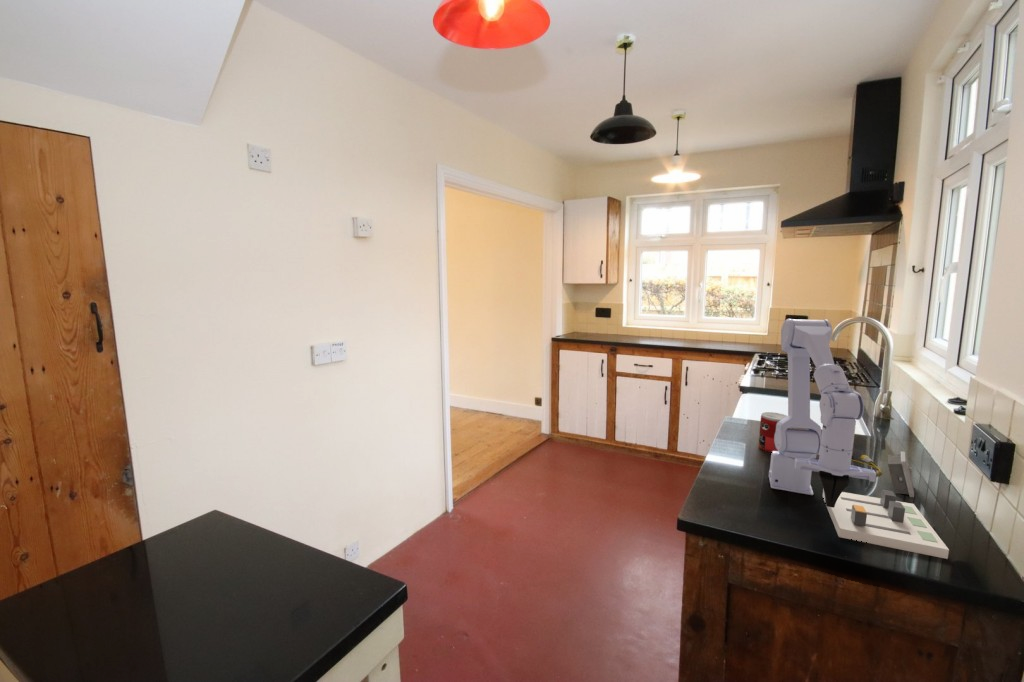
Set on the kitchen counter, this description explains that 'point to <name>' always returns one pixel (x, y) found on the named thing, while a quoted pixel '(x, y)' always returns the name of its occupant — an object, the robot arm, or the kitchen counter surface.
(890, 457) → the electrical switch
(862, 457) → the extension cord
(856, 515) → the handle
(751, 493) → the kitchen counter surface
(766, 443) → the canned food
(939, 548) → the breaker panel
